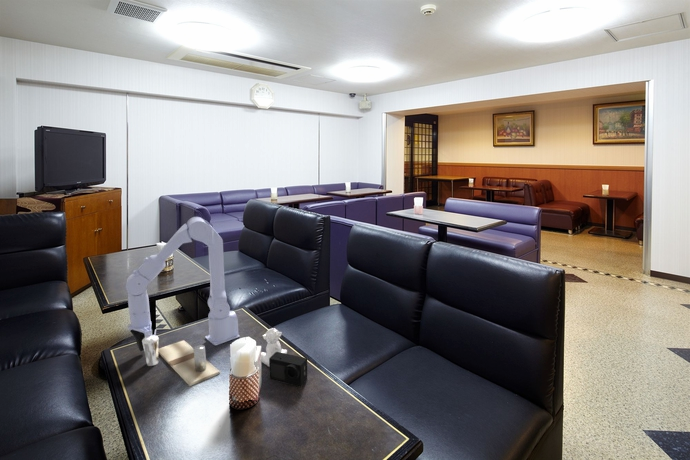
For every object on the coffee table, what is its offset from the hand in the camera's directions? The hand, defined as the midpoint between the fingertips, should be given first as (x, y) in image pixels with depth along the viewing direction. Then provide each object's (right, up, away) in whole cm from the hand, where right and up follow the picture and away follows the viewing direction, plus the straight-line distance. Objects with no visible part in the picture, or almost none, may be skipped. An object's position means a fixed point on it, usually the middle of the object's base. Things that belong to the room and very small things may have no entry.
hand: (143, 349), depth 124 cm
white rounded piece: (+6, -3, -5) cm, 8 cm away
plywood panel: (+16, -3, -4) cm, 17 cm away
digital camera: (+49, -5, -13) cm, 51 cm away
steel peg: (+22, -3, -9) cm, 24 cm away
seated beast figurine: (+44, -3, -3) cm, 44 cm away
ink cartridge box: (+40, -6, -18) cm, 44 cm away
